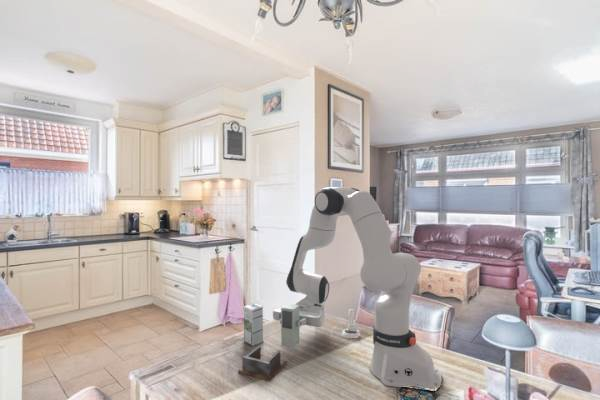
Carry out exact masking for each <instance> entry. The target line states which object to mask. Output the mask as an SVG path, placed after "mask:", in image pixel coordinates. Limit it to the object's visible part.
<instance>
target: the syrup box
mask: <svg viewBox="0 0 600 400" xmlns="http://www.w3.org/2000/svg"><path fill="white" fill-rule="evenodd" d="M263 307H264V306H262V305H260V304H257V303H249V304H247V305H244V306H243V341H244V342H245V343H246V344H248V345H250V346H251V347H253V346H256V345H258V344H261V343H263V342H264V323H263V322H264V308H263Z"/></svg>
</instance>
